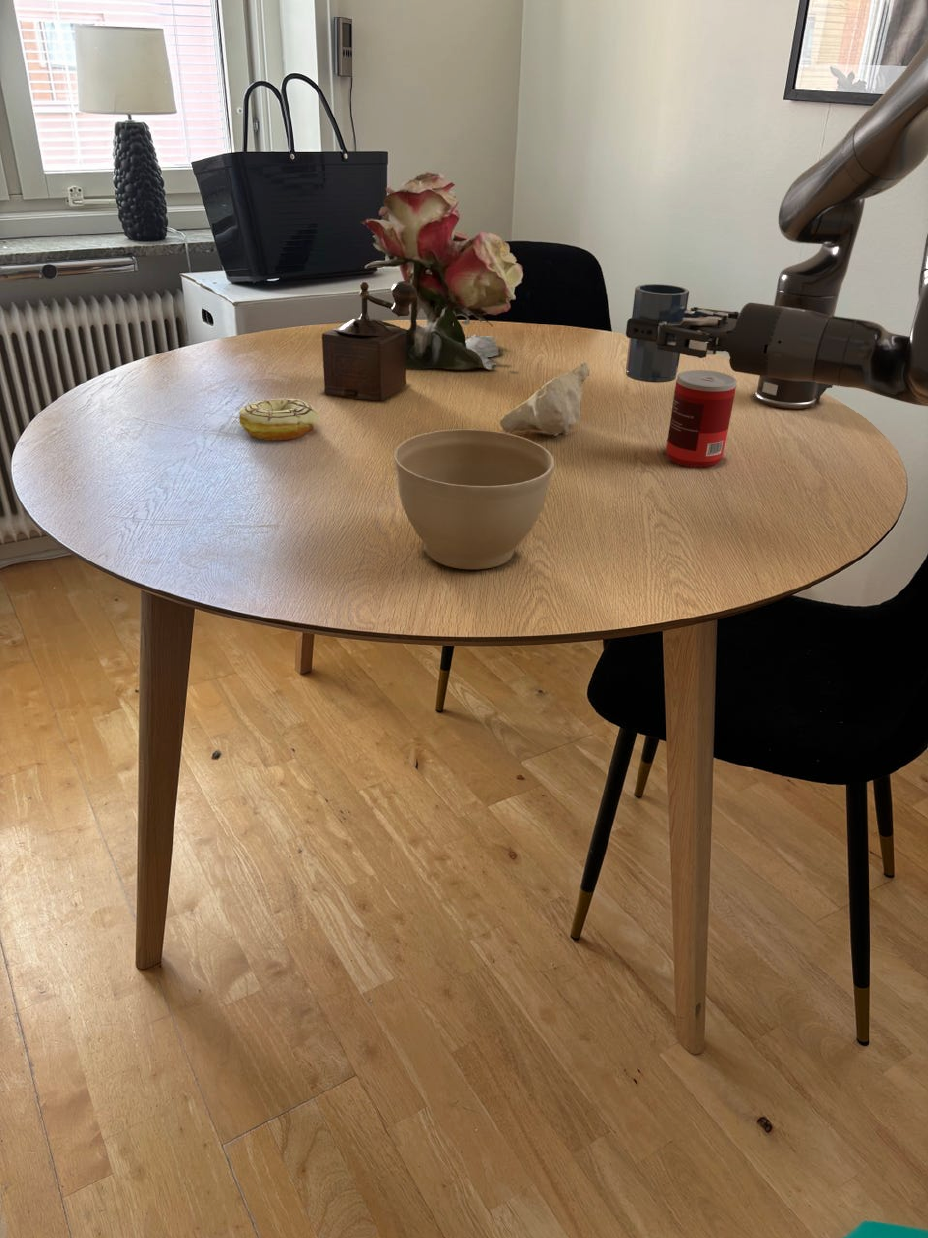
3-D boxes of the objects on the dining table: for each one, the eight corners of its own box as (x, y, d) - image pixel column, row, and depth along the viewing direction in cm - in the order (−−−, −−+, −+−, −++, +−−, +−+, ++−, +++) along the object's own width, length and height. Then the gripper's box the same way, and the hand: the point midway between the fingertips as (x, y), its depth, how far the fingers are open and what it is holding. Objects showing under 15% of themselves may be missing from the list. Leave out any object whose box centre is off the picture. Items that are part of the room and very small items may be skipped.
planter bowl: (428, 599, 87) (429, 494, 82) (374, 532, 100) (372, 437, 95) (573, 572, 93) (583, 473, 88) (505, 512, 106) (510, 422, 100)
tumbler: (658, 367, 113) (670, 282, 108) (685, 380, 108) (699, 292, 103) (616, 370, 111) (626, 285, 106) (642, 384, 106) (653, 295, 101)
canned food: (724, 452, 126) (739, 373, 120) (719, 471, 119) (734, 389, 114) (669, 444, 128) (681, 366, 122) (661, 463, 121) (673, 382, 116)
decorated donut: (333, 433, 128) (332, 407, 126) (266, 449, 121) (264, 421, 119) (292, 414, 134) (291, 389, 132) (227, 428, 128) (225, 402, 126)
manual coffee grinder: (319, 395, 143) (313, 275, 134) (350, 377, 152) (347, 263, 143) (410, 408, 139) (410, 285, 130) (436, 389, 148) (438, 273, 139)
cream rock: (526, 464, 125) (615, 396, 122) (494, 421, 124) (583, 351, 121) (530, 459, 140) (610, 398, 137) (502, 421, 139) (582, 359, 136)
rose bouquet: (519, 373, 157) (531, 182, 142) (351, 367, 157) (345, 176, 142) (514, 338, 179) (524, 169, 164) (366, 333, 179) (363, 164, 164)
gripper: (802, 296, 104) (662, 279, 111) (771, 319, 93) (618, 298, 100) (788, 362, 107) (654, 341, 114) (757, 392, 97) (611, 366, 104)
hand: (638, 321), depth 107 cm, fingers closed on tumbler, 6 cm apart
